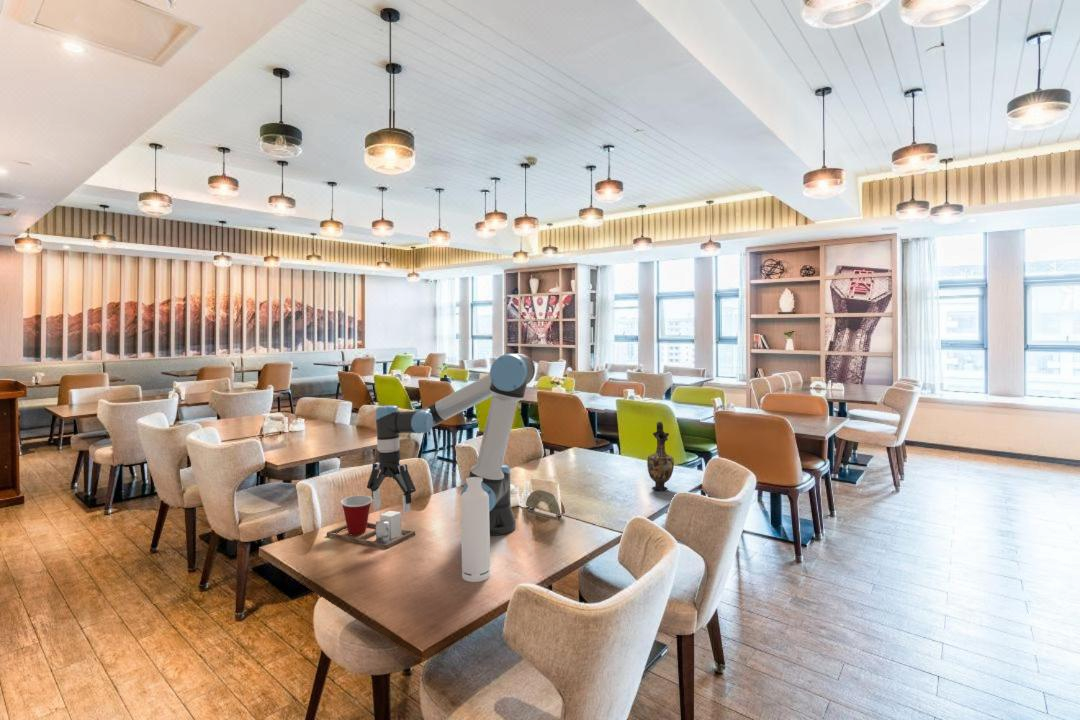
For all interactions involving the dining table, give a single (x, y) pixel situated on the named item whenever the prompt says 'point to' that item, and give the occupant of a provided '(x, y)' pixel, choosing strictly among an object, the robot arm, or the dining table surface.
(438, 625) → the dining table surface
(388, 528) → the silvery rounded piece
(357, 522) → the plastic cup
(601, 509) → the dining table surface
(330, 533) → the holder frame
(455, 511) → the dining table surface
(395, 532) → the sugar box
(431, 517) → the dining table surface
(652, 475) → the vase
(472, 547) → the bottle
